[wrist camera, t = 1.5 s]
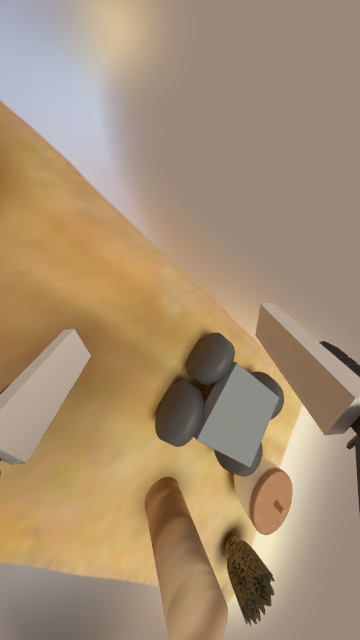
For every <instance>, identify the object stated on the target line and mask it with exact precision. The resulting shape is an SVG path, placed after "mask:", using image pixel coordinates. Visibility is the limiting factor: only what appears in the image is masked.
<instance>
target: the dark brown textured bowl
mask: <svg viewBox="0 0 360 640" xmlns="http://www.w3.org/2000/svg"><path fill="white" fill-rule="evenodd" d="M224 549H225V553H226V555H227V570H228V574H229V578H230V581H231V584H232V587H233V590H234V592H235V595H236V597H237V600H238V603H239V606H240V608H241V611H242V613H243V616H244V619H245V622H246V624H247V622H249V624H250V626H251V621H250V618H251V620H253V622H254V623H255V624H257V622H256V619H258V620H259V621H260V620H261V619H260V611H259V609H260V610H261V611H262V613H263V614H264V615H265V608H264V606H263V605H264V604H265V605H266V606H271V595H274V590H273V588H272V587H271V585H270V581H271V580H272V581H274V578H273V577H272V576H273V575H272V574H271V572H270V571H269V570H268V568H267V567H266V566H265V564H264V563H263V562H262V560H261V559H260V558H259V556H258V555H257V554H256V552H255V551H254V550H253V549H252V547H251V546H250V545H249V544H248V543H246V542H245V541H242V540H239V539H238V537H237V536H236V535H235V534H231V535H229V536H228V537H227V539H226V541H225V544H224ZM270 579H271V580H270ZM247 620H248V621H247Z"/></svg>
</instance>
